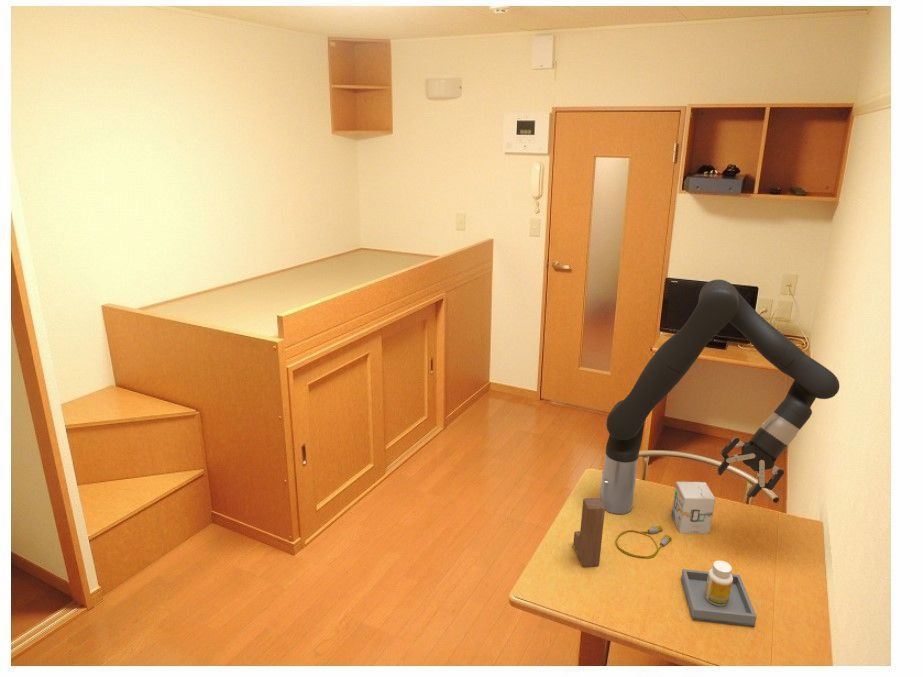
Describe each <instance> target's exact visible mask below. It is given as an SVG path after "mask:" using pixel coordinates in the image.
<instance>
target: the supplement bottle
mask: <svg viewBox="0 0 923 677" xmlns="http://www.w3.org/2000/svg"><path fill="white" fill-rule="evenodd" d="M732 570H733V568H732V566H731V564H730V563H728V562H726V561H724V560H716V561H714V562H713V564H712V567H711V568H710V569H709V570H708V572H709V573H708V578H707V583H706V588H705V598H706V599H707V600H708V601H709V602H710V603H712V604H714V605H716V606H724V605H726V604H727V603H728V601H729V596H730V592H731V587H732V582H733V576H732V574H733V573H732Z"/></svg>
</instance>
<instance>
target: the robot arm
mask: <svg viewBox="0 0 923 677" xmlns="http://www.w3.org/2000/svg"><path fill="white" fill-rule="evenodd" d="M728 323H729V324H731V325H732V326H733V327H734V328H736V329H737V330H738V331H739V332H740V333H741V335H743V336H744V337H745V338H746V339H747V341H749V343H751V345H752V346H753V347H754V348H755V350H756V351H757V352H758V353H759V354H760V355H761V356H762V357H763V358H765V360H767V361H768V363H770V364H771V365H773V366H774V367H775V368H776V369H777V370H778V371H780V372H781V373H783V374H784V375H786V376H788V377H790V378H792V379H793V382H792V384H791V386H790V388H789V389H788V391H787V394H786V395H785V398H784V399H783V400H782V402H781V403H779V405H778V406H777V408H776V409H775V410H774V411H773V412H772V413H771V414H770V415H769V416H768V417H767V418H766V419H765V421H764V422H762V423H761V425H760V427H758V429H757V430H756V431H755V433H754V434H753V435H752V437H750V439H749V440H747V442H746V443H744V442H743V441H742V440H740V438H739V437H738V436H734V437H732V438H731V440H730V441H729V442H728V443H727V444H726V446H724V447H723V448H722V450H721V451H720V455H721V456H722V457H723V461H722V462H721V463H720V465H718V467H717V475H719V476H722V475H723V473H724V472H725V471H726V470H727V469H728V468H729V466H730V464H731V463H732V464H733V463H735V462H742V463H743V464H744V465H745V466H748V467H750V469H752V471H754V472H756V473H757V483H755V484H754V485H753V486H752V487H751V488H750V490H749V491H748V492H747V494H746V496H747V497H748V498H754V497H756V496H757V495H758V494H759V492H760V491H761V490H762V489H766V490H768V491H772V490H773V489H774V488H775V486H776V485H777V483H778V482H779V481H780V479H781V478H782V477H783V475H784V474H785V471H784V469H782V468H781V467H778V466H776V465H775V463H776V461H777V460H778V459H779V457H780V456H781V455H782V454H783V453H784V451H785V450H786V449H787V447H788V446H789V445H790V444H791V443H792V442H793V441H794V439H795V437H797V435H798V433H799V431H800V430H801V429H802V427H803V426H804V425H805V424H806V423H807V422H808V421H809V419H810V417H811V416H812V414H813V411H812V408H811V407H812V405H813V404H814V402H815V401H816V399H819V400H828V399H831V398H834V397H835V396H836V395H837V394H838V393H839V391H840V380H839V378H838V377H837V376H836V374H835V373H834V372H832V371H831V369H829V368H827V367H826V366H824V365H823V364H821V363H820V362H818V361H817V360H815V359H814V358H812V357H811V356H809V355H808V354H807V353H805V352H804V350H802V349H801V348H800V347H799V346H798V345H797V344H795V343H794V342H793V341H792V340H790V339H789V338H788V337H787V336H785V335H784V334H783V333H781V332H780V331H779V330H778V329H777V328H776V327H774V326H773V324H771V323H770V322H768V320H766V319H765V318H764V317H763V316H761V314H759V312H757V311H756V310H755V308H753V307H752V305H750V303H748V301H747V300H746V299H745V298H744V297H743V296H742V295H741V293H740V292H739V291H738V290H737V288H736V287H735V286H734V285H733V284H732V283H731V282H729V281H727V280H724V279H712V280H710V281H708V282H706V283H705V284H704V285H703V286H702V287H701V289H700V292H699V294H698V301H697V305H696V307H695V308H694V310H693V311H692V313H691V315H690V316H689V318H688V319H687V321H686V322H685V324H684V325H683V326H682V327H681V328H680V329H679V330H678V331H677V332H675V334H673V335H672V336H670V337H669V338H668V339H667V340H665V341H664V343H662V344H661V345H660V347H659V348H658V349H657V350H656V351H655V353H654V354H653V355H652V357H651V358H650V359H649V361H648V362H647V363H646V365H645V366H644V368H643V370H642V371H641V373H640V375H639V376H638V378H637V379H636V382H635V384H634V385H633V387H632V389H631V390H630V392H629V393H628V394H627V395H626V397H624V399H622V400H620V401H618V402H617V403H616V404H614V406H613V407H612V409H611V410H610V412H609V413H608V415H607V417H606V429H607V430H606V431H607V432H608V439H607V440H606V446H605V454H604V463H603V471H602V472H601V482H600V492H599V494H600V495H599V498H600V499H601V501H602V503H603V504H604V506H605V512H606V511H607V512H609V513H611V514H616V515H625V514H629V513H630V512H631V511H632V509H633V504H634V496H635V487H636V478H637V472H638V465H639V464H638V462H639V455H640V450H641V447H642V443H643V442H642V441H643V435H644V428H645V421H646V420H647V418H648V416H649V415H650V413H651V412H652V411H653V410H654V408H655V407H656V406H657V405H658V404H659V403H660V402H661V401H662V400H663V399H665V397H667V395H668V394H669V393H670V392H671V391H672V390H673V389H674V388H675V386H677V384H679V382H680V381H681V380H682V379H683V377H684V376H685V375H686V374H687V372H688V371H689V370H690V369H691V367H692V366H693V364H695V362H696V361H697V359H698V358H699V357H700V355H701V354H702V352H703V350H704V349H705V348H706V346H707V345H708V344H709V343H710V342H711V341H712V340H713V339H714V337H716V336H717V334H718V333H719V332H721V331H722V330H723V329H724V328H725V327H726V326H727V325H728ZM739 447H741V453H736V454H733V455H728V454H730V452H731V451H732V450H733V449H734V448H739ZM770 469H772V471H771V473H772V475H771V477H770V479H769V480H768V482H765V479H766V478H765V477H766V472H765V471H767V470H770Z"/></svg>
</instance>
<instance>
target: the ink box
mask: <svg viewBox="0 0 923 677" xmlns="http://www.w3.org/2000/svg"><path fill="white" fill-rule="evenodd" d="M675 482H676V483H675V489H674V493H673V494H674V496H673V501H672V509H671V517H672V519H673V521H674V524H675V526H676V528H677V530H678V533H679V534H696V533H697V534H698V535H699V534H700V535H703V534H704V535H709V534H710V532H711V527H712V526H711V525H712V521H713V514H714V510H715V504H716V497H715V496H714V494H713V493H712V491H711V489H710V487H709V486H708V484H707V483H706V482H705V481H680V480H679V481H675Z"/></svg>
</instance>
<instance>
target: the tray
mask: <svg viewBox="0 0 923 677" xmlns="http://www.w3.org/2000/svg"><path fill="white" fill-rule="evenodd" d="M681 570H682V571H681V577H680V581H681V584H682V588H683V591H684V595H685V599H686V602H687V607H688V606H689V607H688V609H689V614H690V617H691V620H692V621H697V622H707V623H714V624H715V623H716V624H723V625H731V626H732V625H733V626H742V627H750V628H755V627H756V622H757V619H758V618H757V617H758V616H757V615H756V612H755V608H754V607H753V605H752V601H751V599H750V596H749V594H748V592H747V590H746V587H745V584H744V582H743V579H742V578H741V574H735V573H731V574H732V576H733V582H732V587H731V592H730V596H729V601H728V603H727V604H726V605H724V606H716V605H714V604H712V603H710V602H709V601H708V600H707V599H706V598H705V588H706V583H707V578H708V573H709V571H705V570H696V569H685V568H682V569H681Z"/></svg>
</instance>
